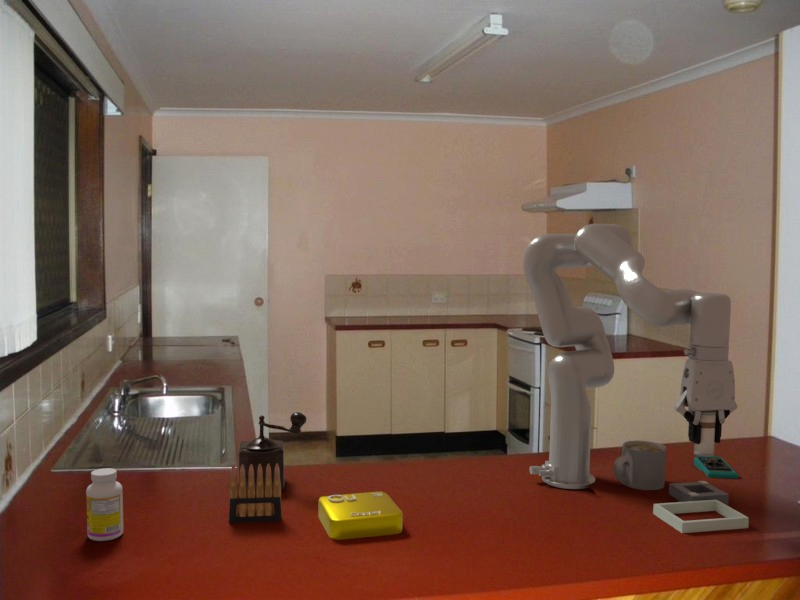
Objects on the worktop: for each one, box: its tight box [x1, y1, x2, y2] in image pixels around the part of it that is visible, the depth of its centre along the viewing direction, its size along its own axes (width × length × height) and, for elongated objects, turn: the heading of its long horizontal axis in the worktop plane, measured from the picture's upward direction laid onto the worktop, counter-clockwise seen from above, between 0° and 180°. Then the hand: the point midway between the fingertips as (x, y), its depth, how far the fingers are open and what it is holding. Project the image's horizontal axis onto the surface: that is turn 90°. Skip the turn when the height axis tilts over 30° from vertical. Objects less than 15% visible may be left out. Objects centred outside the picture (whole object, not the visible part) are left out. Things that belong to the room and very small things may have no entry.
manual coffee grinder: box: [238, 411, 307, 493], centre depth 190 cm, size 16×11×18 cm
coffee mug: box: [613, 439, 667, 491], centre depth 193 cm, size 13×10×10 cm
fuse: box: [693, 410, 716, 457], centre depth 168 cm, size 4×4×9 cm
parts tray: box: [652, 500, 750, 534], centre depth 170 cm, size 15×11×3 cm
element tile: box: [317, 490, 403, 541], centre depth 168 cm, size 15×15×5 cm
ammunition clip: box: [228, 463, 283, 524], centre depth 168 cm, size 11×2×12 cm, turn 98°
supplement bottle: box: [85, 467, 124, 542], centre depth 159 cm, size 7×7×13 cm
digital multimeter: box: [693, 455, 739, 480], centre depth 206 cm, size 7×15×3 cm, turn 174°
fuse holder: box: [668, 480, 730, 506], centre depth 182 cm, size 9×9×4 cm
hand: (704, 441), depth 168 cm, fingers closed on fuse, 3 cm apart
